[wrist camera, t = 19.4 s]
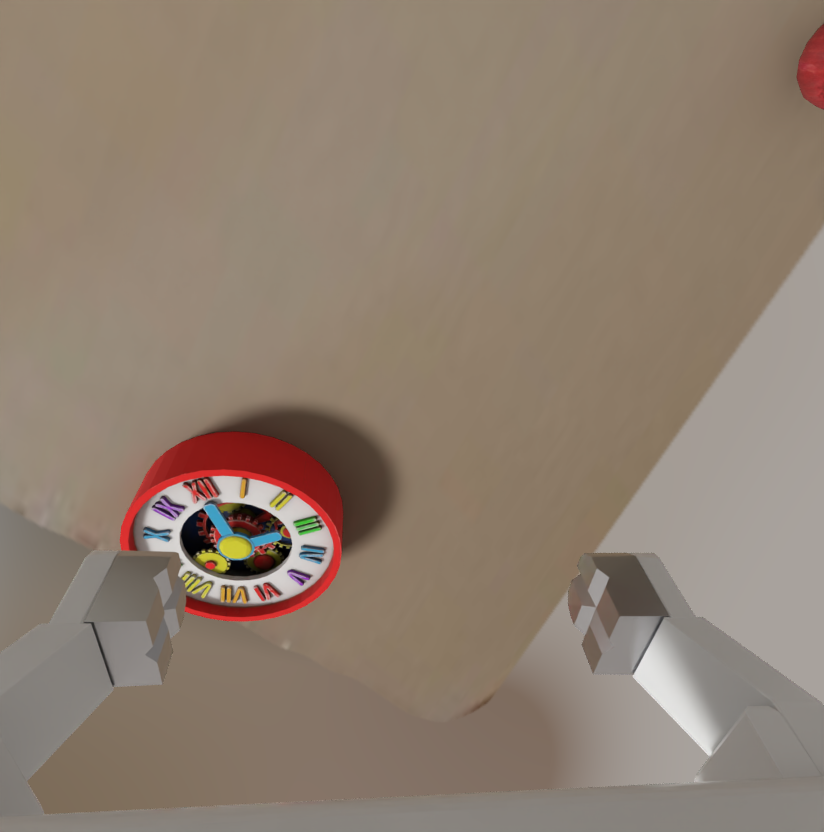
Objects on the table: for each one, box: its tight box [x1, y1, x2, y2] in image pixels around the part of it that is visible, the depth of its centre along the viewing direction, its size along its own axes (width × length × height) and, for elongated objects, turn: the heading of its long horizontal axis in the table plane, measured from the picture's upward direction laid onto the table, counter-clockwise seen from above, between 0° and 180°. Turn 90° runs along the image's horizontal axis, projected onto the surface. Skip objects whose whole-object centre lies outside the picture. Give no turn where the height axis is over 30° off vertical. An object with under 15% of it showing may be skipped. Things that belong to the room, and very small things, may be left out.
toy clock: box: [120, 432, 343, 621], centre depth 54 cm, size 20×6×20 cm
